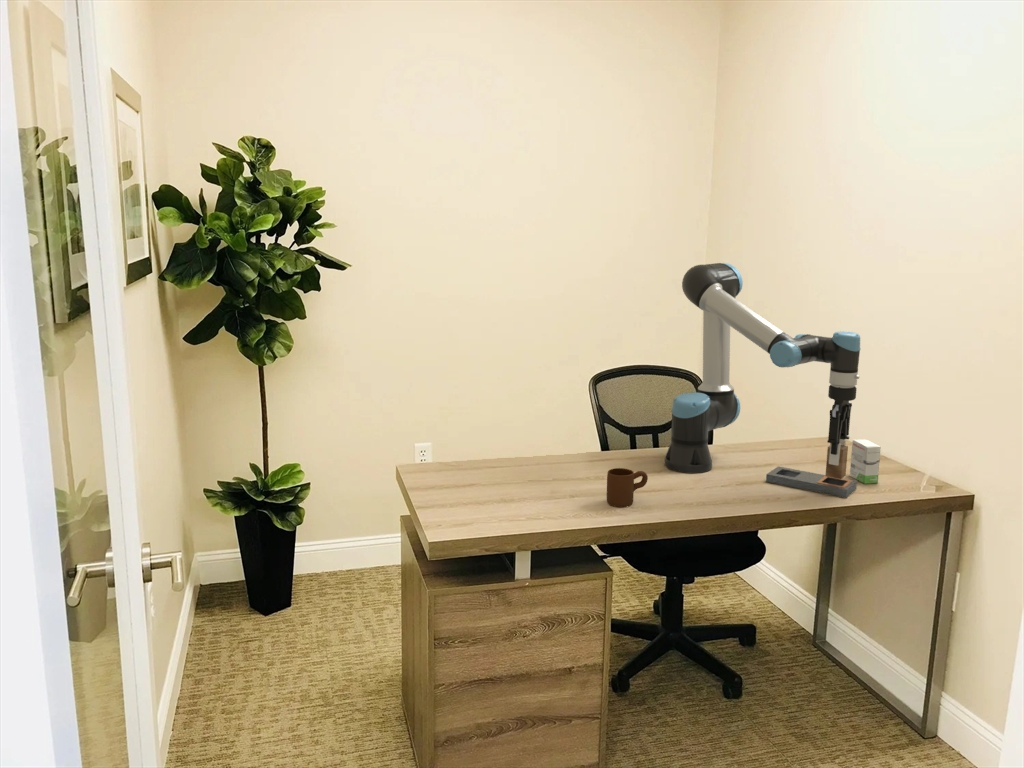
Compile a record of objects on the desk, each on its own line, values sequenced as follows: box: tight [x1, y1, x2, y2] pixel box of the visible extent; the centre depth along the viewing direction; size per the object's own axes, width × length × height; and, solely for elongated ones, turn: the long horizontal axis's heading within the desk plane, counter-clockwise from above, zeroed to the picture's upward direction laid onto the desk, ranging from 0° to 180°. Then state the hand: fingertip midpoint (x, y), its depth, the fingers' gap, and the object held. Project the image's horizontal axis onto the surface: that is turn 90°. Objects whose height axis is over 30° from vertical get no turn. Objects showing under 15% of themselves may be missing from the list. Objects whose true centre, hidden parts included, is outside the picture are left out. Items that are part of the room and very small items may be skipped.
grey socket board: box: [765, 466, 858, 499], centre depth 258 cm, size 24×10×3 cm, turn 53°
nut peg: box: [825, 445, 849, 479], centre depth 252 cm, size 4×4×9 cm
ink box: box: [849, 439, 881, 485], centre depth 263 cm, size 9×5×12 cm, turn 9°
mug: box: [606, 467, 649, 508], centre depth 242 cm, size 12×8×9 cm, turn 104°
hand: (836, 462), depth 252 cm, fingers closed on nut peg, 4 cm apart
